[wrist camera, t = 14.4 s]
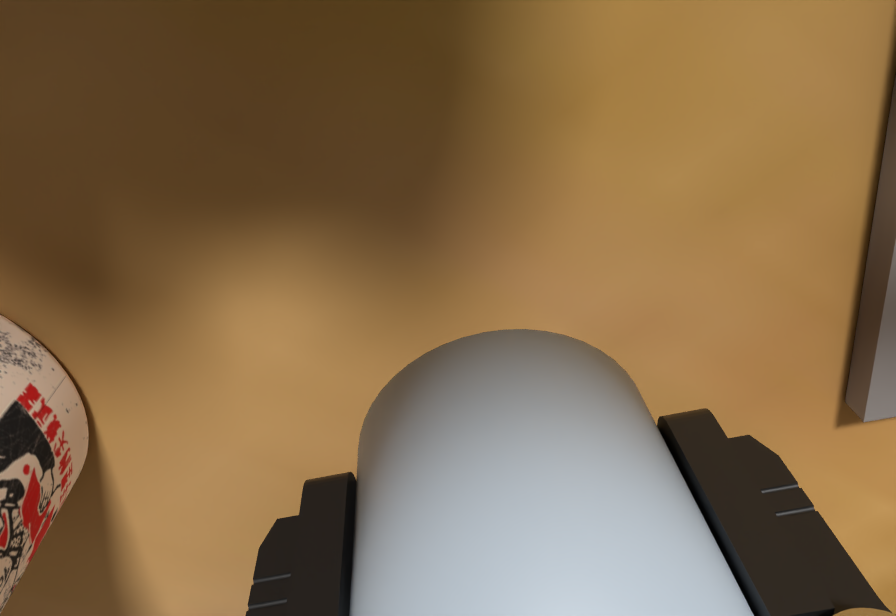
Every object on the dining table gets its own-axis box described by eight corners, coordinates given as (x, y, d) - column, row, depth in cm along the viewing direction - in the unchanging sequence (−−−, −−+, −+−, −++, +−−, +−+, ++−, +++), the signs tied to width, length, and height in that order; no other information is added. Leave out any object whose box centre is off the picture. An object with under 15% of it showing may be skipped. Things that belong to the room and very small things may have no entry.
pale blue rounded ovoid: (324, 362, 11) (263, 800, 5) (644, 302, 10) (893, 691, 5) (392, 570, 13) (395, 999, 8) (650, 523, 13) (820, 930, 8)
